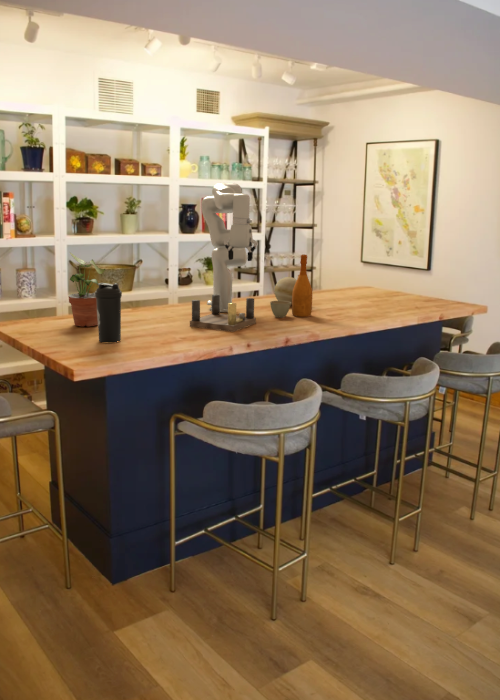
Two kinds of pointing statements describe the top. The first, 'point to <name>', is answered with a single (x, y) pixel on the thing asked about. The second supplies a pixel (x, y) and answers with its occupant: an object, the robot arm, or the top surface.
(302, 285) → the wine bottle
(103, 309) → the water bottle
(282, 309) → the flower pot
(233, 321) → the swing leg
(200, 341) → the top surface
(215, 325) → the stool seat
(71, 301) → the potted plant
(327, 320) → the top surface
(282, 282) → the decorative ball
